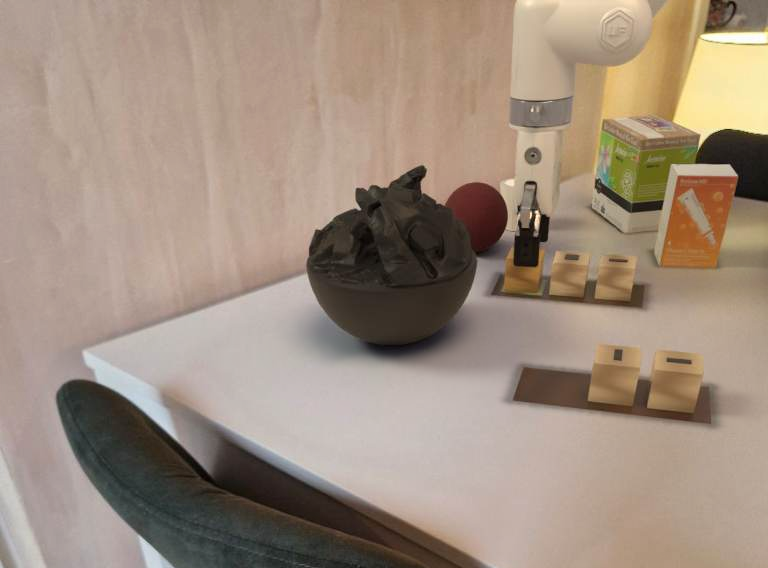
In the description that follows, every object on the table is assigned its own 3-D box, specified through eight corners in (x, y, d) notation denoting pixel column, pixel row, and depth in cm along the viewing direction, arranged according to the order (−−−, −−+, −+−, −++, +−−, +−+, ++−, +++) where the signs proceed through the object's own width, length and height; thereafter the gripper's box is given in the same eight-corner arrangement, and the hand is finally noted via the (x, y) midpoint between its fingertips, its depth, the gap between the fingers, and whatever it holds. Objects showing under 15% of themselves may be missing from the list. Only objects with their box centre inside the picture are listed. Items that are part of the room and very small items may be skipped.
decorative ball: (437, 260, 116) (438, 192, 110) (445, 238, 124) (446, 173, 118) (503, 262, 115) (508, 193, 109) (507, 240, 123) (511, 174, 116)
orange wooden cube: (542, 281, 107) (545, 248, 104) (537, 293, 104) (540, 259, 101) (509, 278, 108) (511, 246, 105) (503, 290, 105) (506, 257, 102)
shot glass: (496, 232, 126) (499, 187, 122) (498, 219, 131) (501, 176, 127) (538, 233, 125) (543, 188, 121) (538, 220, 130) (542, 176, 126)
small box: (658, 269, 111) (676, 174, 103) (652, 254, 116) (670, 162, 108) (716, 271, 110) (739, 175, 102) (708, 255, 115) (730, 163, 107)
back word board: (643, 288, 105) (650, 251, 102) (642, 311, 99) (649, 273, 96) (500, 277, 110) (502, 241, 107) (490, 298, 104) (492, 261, 101)
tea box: (588, 209, 134) (601, 116, 125) (642, 205, 135) (658, 112, 126) (625, 236, 122) (641, 136, 113) (683, 231, 124) (704, 131, 115)
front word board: (708, 390, 82) (719, 347, 79) (710, 428, 76) (723, 383, 73) (523, 370, 87) (526, 329, 84) (511, 404, 81) (515, 361, 78)
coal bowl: (368, 392, 84) (360, 218, 73) (285, 331, 98) (267, 175, 86) (507, 344, 93) (519, 181, 81) (412, 294, 106) (411, 148, 95)
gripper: (564, 128, 85) (551, 278, 95) (578, 99, 98) (566, 234, 108) (497, 127, 87) (491, 274, 97) (520, 99, 100) (513, 231, 110)
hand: (531, 253), depth 103 cm, fingers open, 9 cm apart
